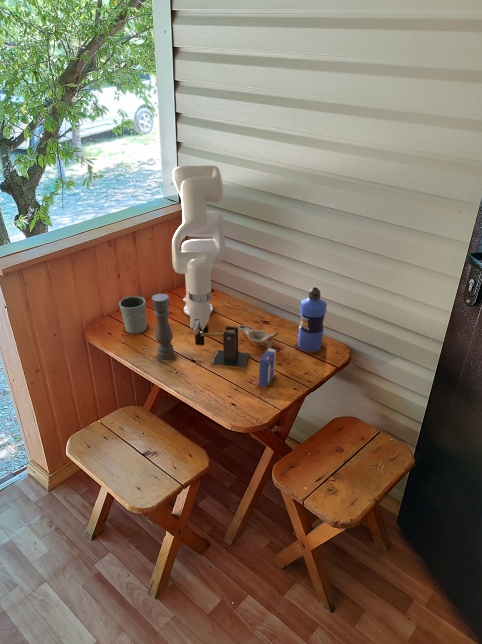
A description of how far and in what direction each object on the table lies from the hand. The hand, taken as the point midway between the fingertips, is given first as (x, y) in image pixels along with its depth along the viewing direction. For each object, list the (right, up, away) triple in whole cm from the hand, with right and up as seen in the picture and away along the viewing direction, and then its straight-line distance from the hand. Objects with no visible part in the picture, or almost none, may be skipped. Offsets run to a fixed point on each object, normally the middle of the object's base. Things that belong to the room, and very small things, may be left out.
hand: (202, 340), depth 172 cm
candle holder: (-14, -7, +4) cm, 16 cm away
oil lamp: (+20, -1, +13) cm, 24 cm away
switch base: (+10, -8, +3) cm, 13 cm away
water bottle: (+40, -3, +11) cm, 42 cm away
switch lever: (+6, +1, -2) cm, 6 cm away
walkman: (+23, -15, -8) cm, 29 cm away
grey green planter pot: (-29, +5, +22) cm, 37 cm away
